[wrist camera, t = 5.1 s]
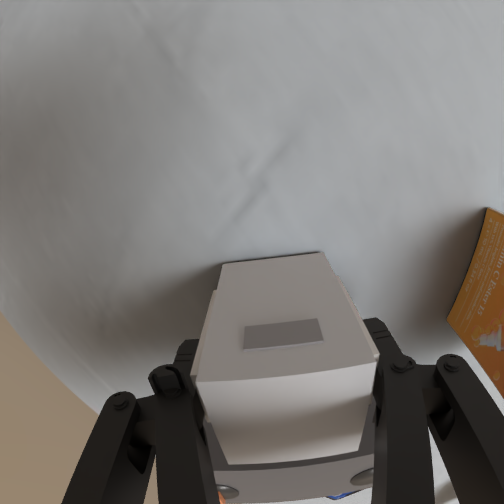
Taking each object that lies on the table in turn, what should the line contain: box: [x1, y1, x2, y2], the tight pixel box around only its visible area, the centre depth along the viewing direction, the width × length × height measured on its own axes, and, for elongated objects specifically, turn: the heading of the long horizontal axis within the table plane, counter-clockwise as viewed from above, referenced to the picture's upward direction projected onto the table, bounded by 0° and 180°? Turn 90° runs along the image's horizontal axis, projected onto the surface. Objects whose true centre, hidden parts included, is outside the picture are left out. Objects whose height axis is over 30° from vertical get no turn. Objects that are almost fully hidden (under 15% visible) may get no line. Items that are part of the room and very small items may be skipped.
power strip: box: [203, 396, 376, 504], centre depth 17 cm, size 6×24×7 cm, turn 97°
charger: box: [196, 252, 377, 464], centre depth 13 cm, size 9×5×8 cm, turn 7°
